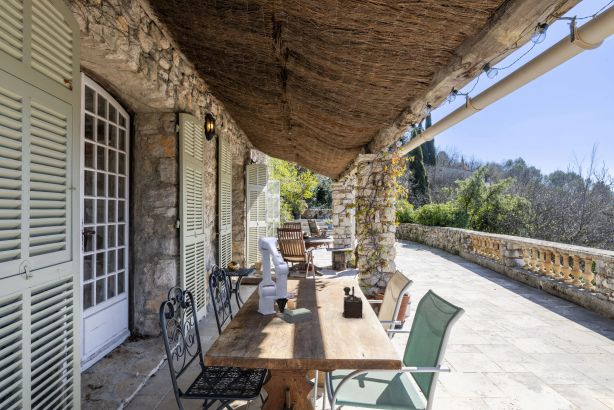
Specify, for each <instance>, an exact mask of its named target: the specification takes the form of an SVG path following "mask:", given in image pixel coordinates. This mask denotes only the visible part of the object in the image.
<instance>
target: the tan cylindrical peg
mask: <svg viewBox="0 0 614 410" xmlns="http://www.w3.org/2000/svg"><path fill="white" fill-rule="evenodd" d="M286 308H288V309H291V310H294V308H295V300H288V302H287V304H286Z"/></svg>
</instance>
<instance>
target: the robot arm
mask: <svg viewBox="0 0 614 410" xmlns="http://www.w3.org/2000/svg"><path fill="white" fill-rule="evenodd" d="M257 243H258V245H257V246H258V252H260V253H261V266H262V268H261V269H262V281H261V282H259V284H258V297H259V298H258V309H257V312H258V313H260V314H263V315H265V316H266V315H272V314H278V313H277V311H275V310H274V309H275V307H274V306H275V304H274V302H276V304H277V307H278V312H279V314H281V313H284V309H286V307H287V302H288V301H289V298H295V294H294V293H292V292H291V293H290V292H289V293H288V275H289V273H290V266H289V264H288V263H286V262H285V261H284V259H283V257H282V254H280V253H279V251H278V248H277V245H278V239H277V237H276V236H263V237H262V236H260V237H259V238H258V241H257ZM271 261H272V264H273V266H274V274H275V279H276V281H274V280H273V279H272V269H271V268H272V267H271V266H272V265H271Z"/></svg>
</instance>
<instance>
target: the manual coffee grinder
mask: <svg viewBox="0 0 614 410" xmlns="http://www.w3.org/2000/svg"><path fill="white" fill-rule="evenodd" d="M342 291H343V292H344V293H343V294H344V296H343V312H342V316H343V318H345V319H363V307H364V305H363V299H362V297H360V296H357V295H355V286H352V287H351V288H350V287H349V286H344V287H343V289H342ZM350 292H352V293H351V294H350Z"/></svg>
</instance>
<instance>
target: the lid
mask: <svg viewBox="0 0 614 410" xmlns="http://www.w3.org/2000/svg"><path fill="white" fill-rule="evenodd" d="M285 309H286V312H285V313H287V314H289V315H291V316H294V315H299V314H305V313H310V312H311V310H310V309H308V308H304V307H303V308H302V307H301V308H296V310H291V309H288V308H287V307H285Z"/></svg>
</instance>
